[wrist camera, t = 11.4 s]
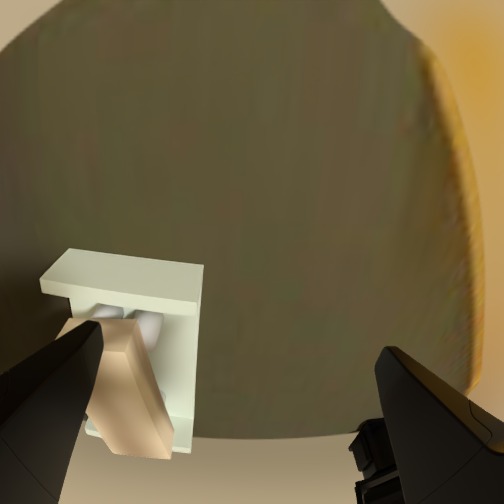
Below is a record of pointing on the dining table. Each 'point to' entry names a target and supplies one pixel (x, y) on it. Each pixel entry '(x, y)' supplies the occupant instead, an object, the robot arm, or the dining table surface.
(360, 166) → the dining table surface
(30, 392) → the robot arm
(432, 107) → the dining table surface
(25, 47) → the dining table surface
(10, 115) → the dining table surface
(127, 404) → the beige tapered block
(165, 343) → the pale green pegged panel
